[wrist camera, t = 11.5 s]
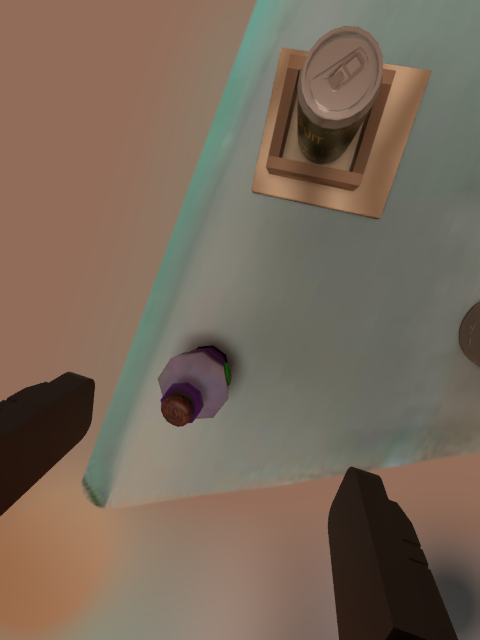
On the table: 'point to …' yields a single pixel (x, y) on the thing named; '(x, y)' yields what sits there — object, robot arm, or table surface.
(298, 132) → the beer can
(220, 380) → the potion bottle
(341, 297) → the table surface
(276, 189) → the can caddy
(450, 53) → the table surface
